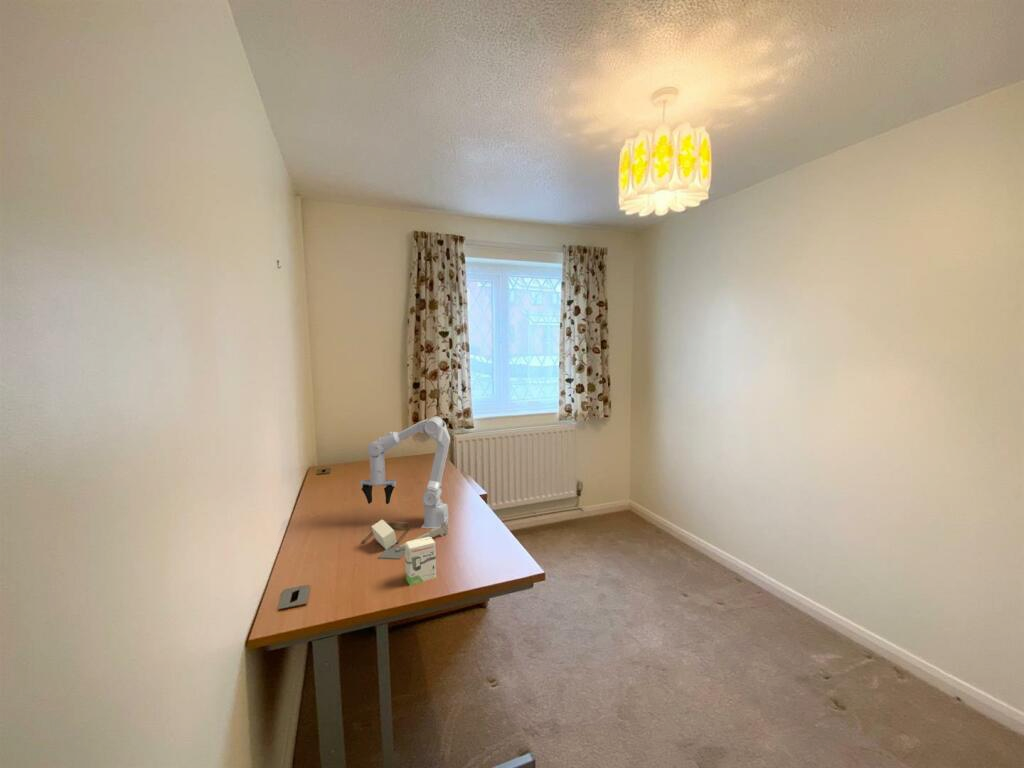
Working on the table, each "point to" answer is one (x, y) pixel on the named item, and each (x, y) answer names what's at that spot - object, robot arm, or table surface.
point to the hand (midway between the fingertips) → (378, 503)
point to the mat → (392, 553)
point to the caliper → (430, 534)
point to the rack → (395, 527)
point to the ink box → (420, 560)
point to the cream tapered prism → (384, 534)
